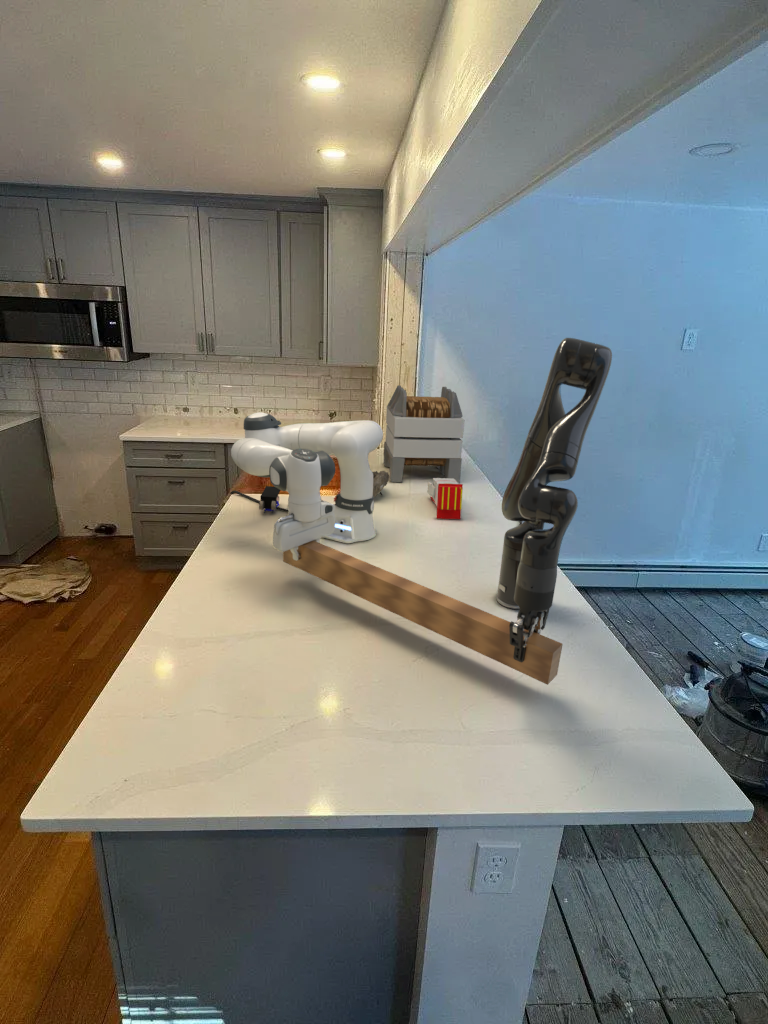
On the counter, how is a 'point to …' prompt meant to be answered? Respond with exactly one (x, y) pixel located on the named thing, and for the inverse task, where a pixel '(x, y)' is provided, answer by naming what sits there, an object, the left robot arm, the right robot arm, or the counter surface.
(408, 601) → the post
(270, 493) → the figurine character
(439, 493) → the toy
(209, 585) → the counter surface
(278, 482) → the left robot arm
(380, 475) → the fossil
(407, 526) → the counter surface
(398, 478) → the transformer
